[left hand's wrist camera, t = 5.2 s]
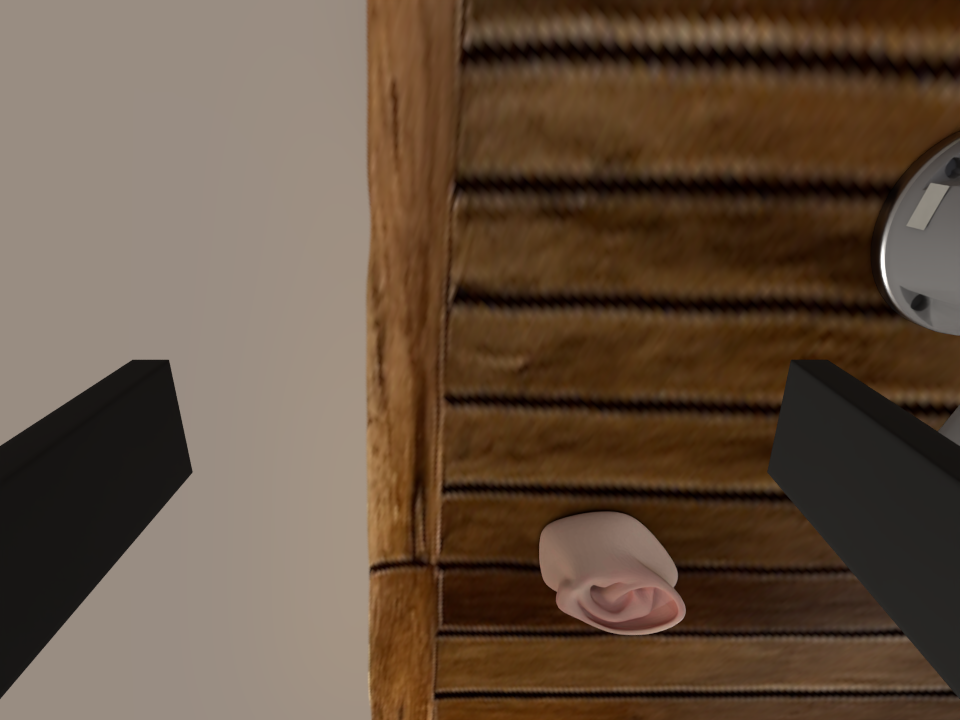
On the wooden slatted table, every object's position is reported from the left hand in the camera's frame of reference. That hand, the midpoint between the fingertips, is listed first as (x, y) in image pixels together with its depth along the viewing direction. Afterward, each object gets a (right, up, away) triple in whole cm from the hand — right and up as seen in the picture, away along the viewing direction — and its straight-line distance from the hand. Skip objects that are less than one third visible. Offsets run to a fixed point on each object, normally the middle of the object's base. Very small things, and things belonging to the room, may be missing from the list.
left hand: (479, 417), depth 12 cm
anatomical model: (+12, -18, +42) cm, 47 cm away
